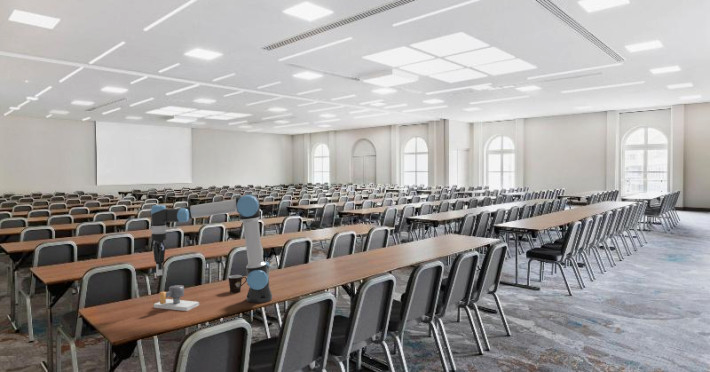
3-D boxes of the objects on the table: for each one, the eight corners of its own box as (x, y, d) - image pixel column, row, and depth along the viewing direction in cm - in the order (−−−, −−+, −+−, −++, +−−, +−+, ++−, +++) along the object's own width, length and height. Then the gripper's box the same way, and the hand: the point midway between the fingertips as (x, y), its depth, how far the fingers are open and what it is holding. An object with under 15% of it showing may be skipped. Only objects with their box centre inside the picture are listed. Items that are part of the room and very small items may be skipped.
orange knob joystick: (175, 295, 257) (175, 284, 257) (187, 296, 254) (186, 285, 254) (154, 303, 241) (154, 291, 241) (166, 304, 239) (166, 293, 239)
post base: (199, 305, 254) (198, 295, 254) (186, 311, 244) (186, 300, 244) (167, 302, 260) (166, 292, 260) (153, 307, 250) (153, 297, 250)
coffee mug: (228, 294, 278) (228, 278, 278) (228, 290, 287) (228, 275, 286) (247, 292, 281) (247, 277, 281) (246, 289, 290) (246, 274, 289)
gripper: (147, 232, 246) (148, 274, 246) (156, 234, 236) (156, 278, 237) (161, 231, 251) (161, 272, 251) (170, 233, 241) (170, 275, 242)
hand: (159, 275), depth 244 cm, fingers closed
